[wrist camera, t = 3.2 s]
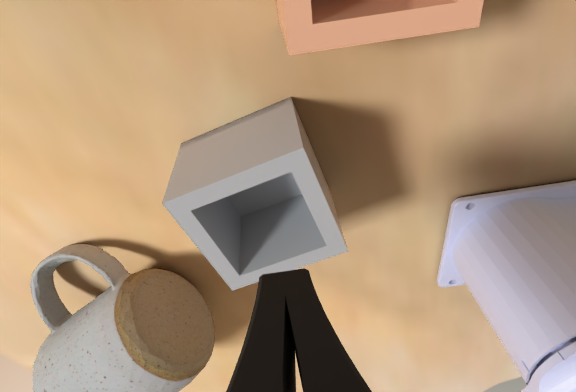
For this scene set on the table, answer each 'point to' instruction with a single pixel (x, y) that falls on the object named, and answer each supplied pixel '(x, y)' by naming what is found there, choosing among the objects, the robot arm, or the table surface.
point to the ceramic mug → (120, 330)
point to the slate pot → (255, 197)
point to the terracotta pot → (369, 21)
